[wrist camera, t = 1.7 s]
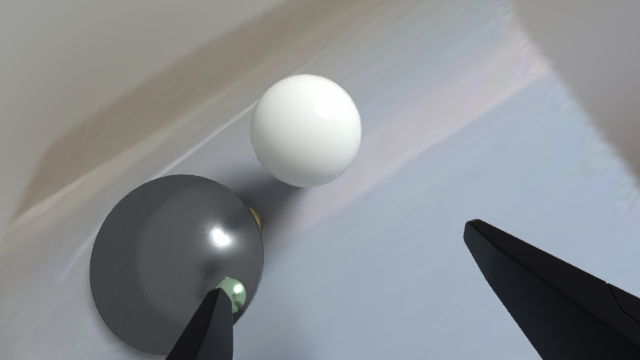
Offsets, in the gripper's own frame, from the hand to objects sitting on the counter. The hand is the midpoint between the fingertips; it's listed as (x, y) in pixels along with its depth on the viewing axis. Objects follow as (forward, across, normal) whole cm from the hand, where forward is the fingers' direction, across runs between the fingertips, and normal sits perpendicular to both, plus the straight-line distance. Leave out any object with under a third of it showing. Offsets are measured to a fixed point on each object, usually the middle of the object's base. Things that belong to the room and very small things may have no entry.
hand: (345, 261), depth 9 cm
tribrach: (+10, +12, +8) cm, 18 cm away
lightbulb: (+14, 0, +4) cm, 14 cm away
